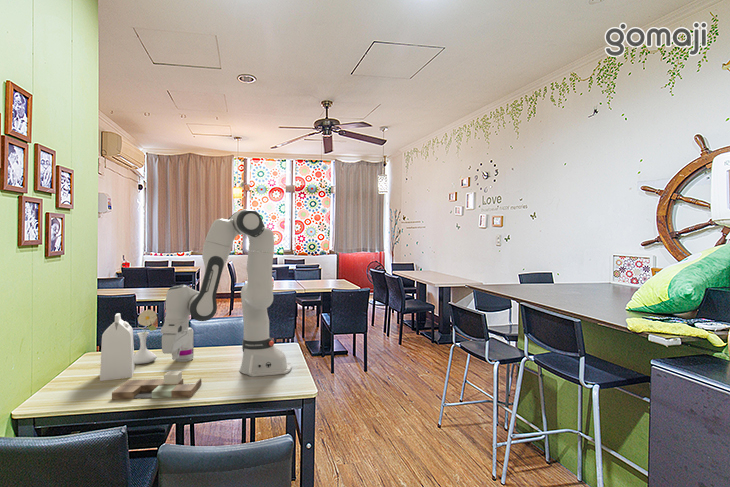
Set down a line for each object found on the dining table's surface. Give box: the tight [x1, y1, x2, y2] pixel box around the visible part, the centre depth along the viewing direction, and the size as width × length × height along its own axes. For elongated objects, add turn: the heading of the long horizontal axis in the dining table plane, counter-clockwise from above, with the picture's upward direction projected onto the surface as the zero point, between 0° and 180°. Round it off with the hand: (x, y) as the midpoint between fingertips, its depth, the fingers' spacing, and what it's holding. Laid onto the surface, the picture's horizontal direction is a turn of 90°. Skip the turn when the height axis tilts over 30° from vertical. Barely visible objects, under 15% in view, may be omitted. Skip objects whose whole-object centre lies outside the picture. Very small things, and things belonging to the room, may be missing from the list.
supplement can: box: [175, 326, 194, 363], centre depth 202 cm, size 8×8×15 cm
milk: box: [99, 312, 136, 382], centre depth 180 cm, size 12×12×26 cm
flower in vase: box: [134, 309, 158, 365], centre depth 197 cm, size 13×11×25 cm
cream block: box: [163, 370, 183, 384], centre depth 164 cm, size 5×5×4 cm
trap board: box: [111, 377, 202, 400], centre depth 161 cm, size 28×13×3 cm, turn 95°
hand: (175, 358), depth 171 cm, fingers closed
